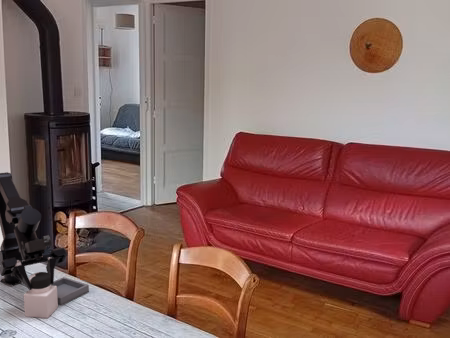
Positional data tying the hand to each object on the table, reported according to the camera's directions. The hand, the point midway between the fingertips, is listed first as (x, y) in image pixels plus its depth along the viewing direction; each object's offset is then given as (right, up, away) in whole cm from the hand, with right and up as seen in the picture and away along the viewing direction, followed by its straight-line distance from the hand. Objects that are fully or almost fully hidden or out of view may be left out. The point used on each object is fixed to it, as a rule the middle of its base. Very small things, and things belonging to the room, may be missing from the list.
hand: (41, 286), depth 147 cm
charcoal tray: (+1, -6, +15) cm, 16 cm away
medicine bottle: (-1, -8, +3) cm, 9 cm away
